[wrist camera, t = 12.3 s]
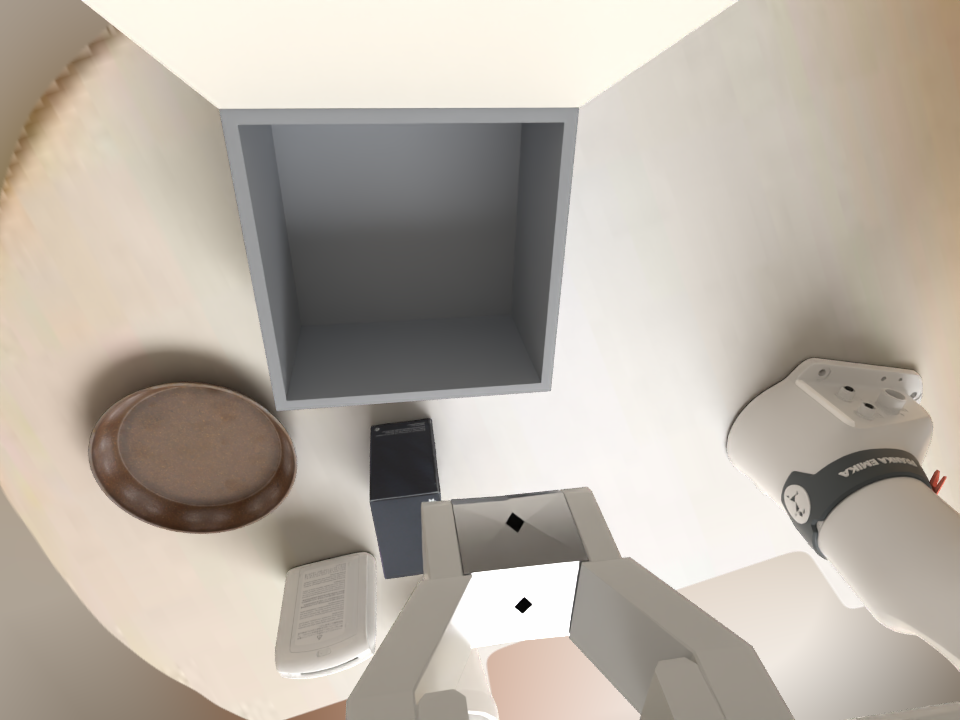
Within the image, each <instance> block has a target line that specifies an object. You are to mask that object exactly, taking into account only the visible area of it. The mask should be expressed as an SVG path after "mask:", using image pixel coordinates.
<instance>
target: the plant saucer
mask: <svg viewBox="0 0 960 720" xmlns="http://www.w3.org/2000/svg"><path fill="white" fill-rule="evenodd" d="M88 455H89V463H90V467H91V471H92V473H93V476H94V478H95V480H96V482H97V483H98V485H99V486H100V488H101V489H102V491H103V492H104V493H105V494H106V496H107V497H108V498H109V499H110V500H111V501H112V502H114V503H115V504H116V505H117V506H118V507H120V508H121V509H122V510H124V511H125V512H127V513H128V514H130V515H132V516H133V517H135V518H137V519H139V520H141V521H143V522H145V523H148V524H150V525H153V526H156V527H159V528H163V529H166V530H171V531H176V532H183V533H194V534H209V533H220V532H226V531H231V530H235V529H238V528H242V527H245V526H248V525H250V524H252V523H255V522H257V521H259V520H261V519H262V518H264V517H265V516H267V515H268V514H270V513H271V512H273V511H274V510H275V509H276V508H277V507H278V506H279V505H280V504H281V503H282V502H283V501H284V500H285V498H286V497H287V495H288V494H289V493H290V491H291V489H292V486H293V484H294V481H295V478H296V473H297V456H296V451H295V448H294V445H293V442H292V440H291V438H290V436H289V434H288V432H287V431H286V429H285V428H284V427H283V425H282V424H281V423H280V422H279V421H278V419H277V418H276V417H275V416H274V415H273V414H272V413H271V412H269V411H268V410H267V409H266V408H265V407H263V406H262V405H261V404H259V403H258V402H256V401H254V400H253V399H251V398H249V397H247V396H245V395H243V394H241V393H239V392H236V391H234V390H231V389H228V388H225V387H221V386H217V385H213V384H207V383H199V382H175V383H166V384H161V385H156V386H152V387H148V388H145V389H142V390H139V391H136V392H134V393H132V394H129V395H128V396H126V397H124V398H122V399H121V400H119V401H118V402H116V403H115V404H113V405H112V406H111V407H110V408H109V409H107V411H106V412H105V413H104V414H103V415H102V416H101V417H100V419H99V420H98V422H97V423H96V425H95V427H94V429H93V431H92V433H91V437H90V441H89V449H88Z"/></svg>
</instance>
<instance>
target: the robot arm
mask: <svg viewBox="0 0 960 720" xmlns="http://www.w3.org/2000/svg"><path fill="white" fill-rule="evenodd" d="M922 392H923V384H922V379H921V376H920V375H919V374H918V373H917V372H916V371H913V370H908V369H901V368H892V367H884V366H876V365H868V364H860V363H852V362H844V361H836V360H828V359H820V358H810V359H807V360H805V361H804V362H802V363H801V364H800V365H799V366H798V367H797V368H796V369H795V370H794V371H793V372H792V373H791V374H790V375H789V376H788V377H787V378H785V379H784V380H783V381H781V382H779V383H778V384H776V385H774V386H773V387H771V388H769V389H767V390H766V391H764V392H763V393H761V394H760V395H759V396H757V397H756V398H755V399H754V400H753V401H751V402H750V403H749V404H748V405H747V406H746V407H745V409H744V410H743V411H742V412H741V413H740V415H739V416H738V417H737V419H736V421H735V422H734V424H733V426H732V428H731V430H730V433H729V436H728V441H727V453H728V457H729V460H730V462H731V463H732V465H733V466H734V467H735V468H736V469H737V470H738V471H740V472H741V473H742V474H744V475H745V476H746V477H748V478H749V479H750V480H751V481H753V482H754V484H755V486H756V488H757V489H758V490H759V491H760V492H761V493H762V494H763V495H766V496H769V497H770V498H771V499H772V500H773V501H774V502H775V503H776V504H777V505H778V506H779V507H780V508H781V509H782V510H783V511H784V512H785V513H786V514H787V515H788V516H789V517H790V519H791V520H792V522H793V524H794V526H795V527H796V529H797V530H798V531H799V532H800V534H801V535H802V536H803V537H804V539H805V540H806V541H807V542H808V544H809V546H810V547H811V548H812V549H814V550H815V552H816V553H817V554H818V555H819V556H821V557H822V558H824V559H826V560H828V561H829V562H830V563H831V565H832V566H833V567H834V568H835V570H836V571H837V572H838V573H839V575H840V576H841V577H842V578H843V580H844V581H845V582H846V583H847V585H848V586H849V587H850V588H851V590H852V591H853V592H854V593H855V595H856V596H857V597H858V598H859V599H860V601H861V602H862V603H863V604H864V606H865V607H866V608H867V609H868V611H869V612H870V613H871V614H872V616H873V617H874V618H875V619H876V620H877V621H878V622H880V623H881V624H882V625H884V626H885V627H887V628H889V629H891V630H893V631H896V632H900V633H903V634H910V635H917V636H919V637H920V638H922V639H923V640H924V641H926V642H927V643H928V644H930V645H931V646H932V647H934V648H935V649H936V650H938V651H939V652H940V653H941V654H942V655H944V656H945V657H946V658H947V659H949V661H950V662H951V663H952V664H953V665H954V666H955V667H956V668H957V669H958V670H959V672H960V514H959V513H958V512H957V511H955V510H954V509H953V508H952V507H951V506H950V505H948V504H947V503H946V502H945V501H944V500H943V499H941V498H940V497H939V496H938V495H937V494H938V493H939V491H940V489H941V487H942V485H943V484H944V482H945V480H946V476H944V477H943V478H942V479H941V480H940V482H939V483H938V485H937V482H938V481H939V473H940V471H939V470H936V471H935V472H934V474H933V476H932V478H931V480H930V482H929V480H928V478H927V476H926V474H925V472H924V471H923V469H922V467H921V466H922V463H923V461H924V459H925V456H926V454H927V451H928V449H929V446H930V443H931V440H932V435H933V422H932V419H931V417H930V415H929V414H928V412H927V411H926V410H925V409H924V408H923V407H922V406H921V405H920V402H921V398H922ZM421 524H422V553H423V573H424V580H421V581H419V583H418V585H417V586H416V588H415V589H414V591H413V593H412V594H411V596H410V598H409V599H408V601H407V603H406V604H405V606H404V608H403V609H402V611H401V612H400V614H399V616H398V617H397V619H396V621H395V622H394V624H393V626H392V627H391V629H390V630H389V632H388V634H387V635H386V637H385V639H384V640H383V642H382V644H381V645H380V647H379V648H378V650H377V652H376V653H375V655H374V657H373V658H372V660H371V662H370V663H369V665H368V666H367V668H366V670H365V671H364V673H363V675H362V676H361V678H360V680H359V681H358V683H357V685H356V686H355V688H354V689H353V691H352V693H351V694H350V696H349V698H348V699H347V701H346V720H469V715H468V709H467V702H466V696H464V695H463V694H461V693H460V692H458V691H457V690H456V687H457V685H458V682H459V680H460V678H461V675H462V673H463V670H464V668H465V665H466V663H467V661H468V658H469V656H470V653H471V648H474V647H480V646H486V645H493V644H499V643H505V642H512V641H518V640H527V639H537V638H547V637H557V636H567V635H569V638H570V639H571V640H572V642H573V643H574V644H575V645H576V646H577V647H578V648H579V649H580V650H581V651H582V652H583V653H584V654H585V656H586V657H587V658H588V659H589V660H590V661H591V662H592V663H593V664H594V665H595V666H596V667H597V668H598V669H599V671H600V672H601V673H602V674H603V675H604V676H605V677H606V678H607V679H608V680H609V681H610V682H611V683H612V684H613V686H614V687H615V688H616V689H617V690H618V691H619V692H620V693H621V694H622V695H623V696H624V697H625V698H626V699H627V701H628V702H629V703H630V704H631V705H632V706H633V707H634V708H635V709H636V710H637V711H638V712H639V713H640V714H641V717H640V720H795V719H794V717H793V715H792V714H791V712H790V710H789V709H788V707H787V705H786V703H785V702H784V700H783V698H782V696H781V695H780V693H779V691H778V690H777V688H776V686H775V684H774V683H773V681H772V679H771V677H770V676H769V674H768V672H767V671H766V669H765V667H764V665H763V664H762V662H761V660H760V659H759V657H758V655H757V653H756V652H755V650H754V648H753V646H751V645H750V644H749V643H747V642H746V641H745V640H743V639H742V638H740V637H739V636H738V635H736V634H735V633H734V632H732V631H731V630H729V629H728V628H727V627H725V626H724V625H723V624H721V623H720V622H718V621H717V620H716V619H714V618H713V617H711V616H710V615H709V614H707V613H706V612H705V611H703V610H702V609H701V608H699V607H698V606H697V605H695V604H694V603H692V602H691V601H690V600H688V599H687V598H685V597H684V596H683V595H681V594H680V593H678V592H677V591H676V590H675V589H673V588H672V587H670V586H669V585H668V584H666V583H665V582H664V581H662V580H661V579H659V578H658V577H657V576H655V575H654V574H653V573H651V572H650V571H648V570H647V569H646V568H644V567H643V566H642V565H640V564H639V563H637V562H636V561H635V560H633V559H632V558H631V557H627V558H622V557H621V555H620V553H619V550H618V548H617V546H616V544H615V542H614V539H613V537H612V535H611V533H610V530H609V528H608V526H607V524H606V522H605V519H604V517H603V515H602V513H601V510H600V508H599V506H598V504H597V502H596V499H595V497H594V495H593V493H592V491H591V490H590V489H589V488H588V487H582V488H572V489H562V490H560V491H559V490H553V491H544V492H534V493H524V494H515V495H505V496H496V497H482V498H467V499H452V500H451V501H450V500H448V501H432V502H422V503H421ZM846 720H960V701H958V702H951V703H945V704H939V705H933V706H927V707H921V708H914V709H909V710H902V711H896V712H890V713H884V714H877V715H871V716H865V717H859V718H852V719H846Z"/></svg>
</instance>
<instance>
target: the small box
mask: <svg viewBox="0 0 960 720" xmlns="http://www.w3.org/2000/svg"><path fill="white" fill-rule="evenodd" d="M432 501H441V493H440V485H439V478H438V469H437V460H436V449H435V442H434V434H433V427H432V420H431V419H423V420H416V421H409V422H401V423H393V424H383V425H377V426H372V427H371V440H370V506H371V511H372V516H373V521H374V526H375V531H376V536H377V541H378V546H379V551H380V557H381V562H382V567H383V572H384V577H385V579H391V578H398V577H405V576H412V575H419V574H424V573H423V553H422V524H421V503H422V502H432Z"/></svg>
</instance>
